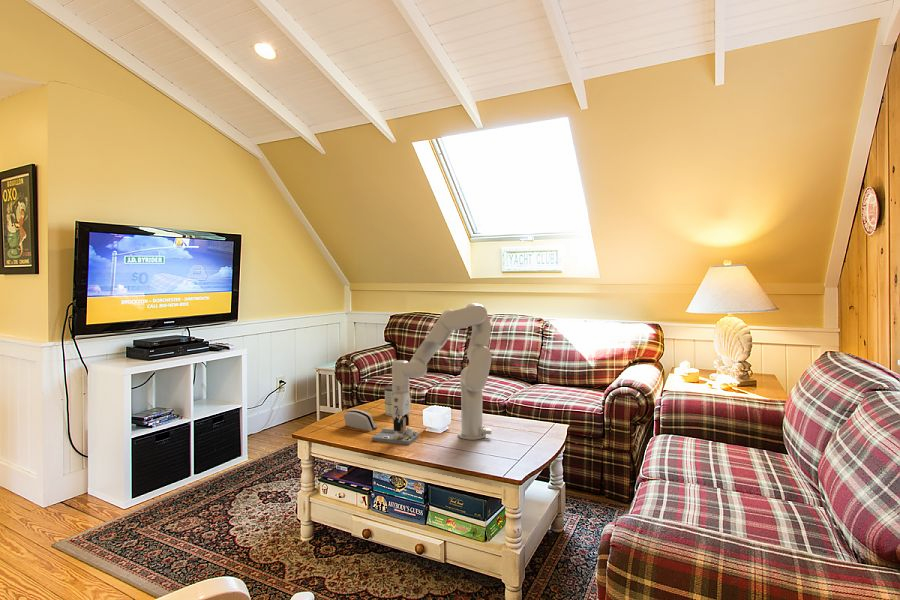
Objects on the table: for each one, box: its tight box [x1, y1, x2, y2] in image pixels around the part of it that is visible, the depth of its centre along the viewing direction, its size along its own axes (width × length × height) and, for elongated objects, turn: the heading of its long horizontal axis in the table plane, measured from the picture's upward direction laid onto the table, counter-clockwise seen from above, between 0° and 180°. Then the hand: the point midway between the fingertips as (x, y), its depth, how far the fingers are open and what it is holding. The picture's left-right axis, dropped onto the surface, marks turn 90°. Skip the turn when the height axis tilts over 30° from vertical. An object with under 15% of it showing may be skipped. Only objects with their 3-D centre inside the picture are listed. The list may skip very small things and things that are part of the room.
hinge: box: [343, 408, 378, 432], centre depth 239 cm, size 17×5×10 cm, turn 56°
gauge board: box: [371, 427, 419, 446], centre depth 221 cm, size 18×10×6 cm, turn 70°
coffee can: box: [384, 384, 399, 417], centre depth 263 cm, size 10×10×14 cm
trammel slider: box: [394, 416, 407, 439], centre depth 219 cm, size 4×9×8 cm, turn 160°
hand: (401, 427), depth 220 cm, fingers open, 7 cm apart
